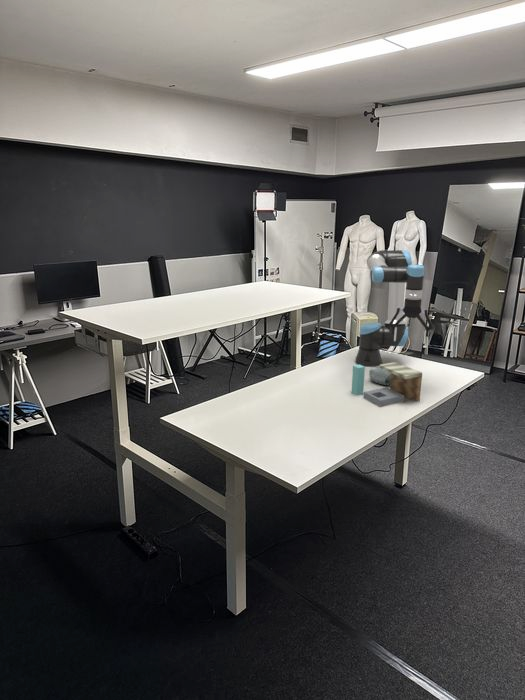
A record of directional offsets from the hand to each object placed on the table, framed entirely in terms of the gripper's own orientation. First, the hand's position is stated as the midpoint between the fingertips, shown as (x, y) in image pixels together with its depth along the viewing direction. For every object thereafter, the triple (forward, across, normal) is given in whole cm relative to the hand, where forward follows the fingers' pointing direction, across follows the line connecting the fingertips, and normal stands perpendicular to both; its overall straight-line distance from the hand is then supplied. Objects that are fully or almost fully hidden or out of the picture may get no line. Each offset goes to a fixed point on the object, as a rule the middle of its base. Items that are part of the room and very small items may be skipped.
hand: (409, 341), depth 228 cm
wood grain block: (+25, -3, -11) cm, 27 cm away
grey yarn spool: (+25, -12, +5) cm, 28 cm away
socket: (+25, -9, -17) cm, 31 cm away
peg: (+25, -22, -13) cm, 35 cm away
